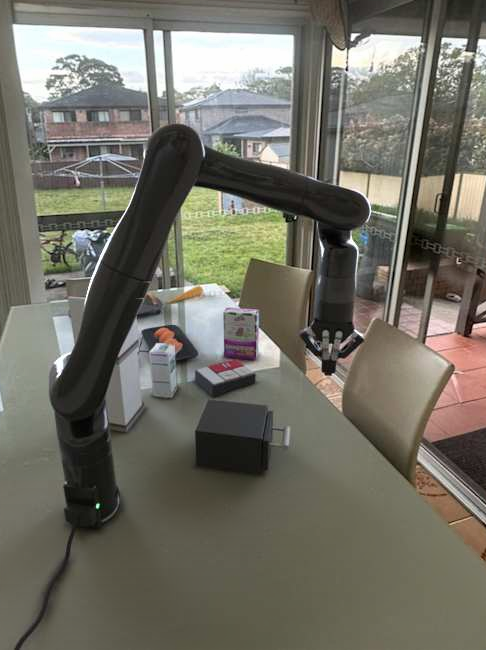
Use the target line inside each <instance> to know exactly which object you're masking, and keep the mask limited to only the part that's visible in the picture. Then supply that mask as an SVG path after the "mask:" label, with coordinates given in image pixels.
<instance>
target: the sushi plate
mask: <svg viewBox="0 0 486 650" xmlns="http://www.w3.org/2000/svg"><path fill="white" fill-rule="evenodd" d="M141 336H142V337H141V340H140V342H139V351H138V352H137V353H138V355H140V353H149V352H150V351H151V349H152V348H153V347H154V346H155V345H156V343H167V344H173V345H175V358H176V362H179V361H184V360H188V359H189V360H190V359H193V358H196V357H198V356H199V352H198V350H197V348H196V347H195V346H194V344H193V343H192V342H191V340H189V338H188V337H187V335H186V334H185V333H184V331H183V330H182V329H181V328H180V327H179V326H178V325H176V324H165V325H160V326H154V327H153V326H152V327H148V328H144V329H142V330H141ZM143 340H144V341H145V343H146V345H147V347H148V348H149V350H141V347H142V343H143Z"/></svg>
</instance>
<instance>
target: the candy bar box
mask: <svg viewBox="0 0 486 650" xmlns="http://www.w3.org/2000/svg"><path fill="white" fill-rule="evenodd" d="M259 326H260V310H259V309H254V308H241V307H240V308H239V307H226V308H225V310H224V311H223V358H231V359H239V360H241V359H242V360H243V359H244V360H252V361H256V360H257V358H258V356H259V343H260V342H259V336H260V335H259V331H260V330H259V329H260V327H259Z"/></svg>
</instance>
